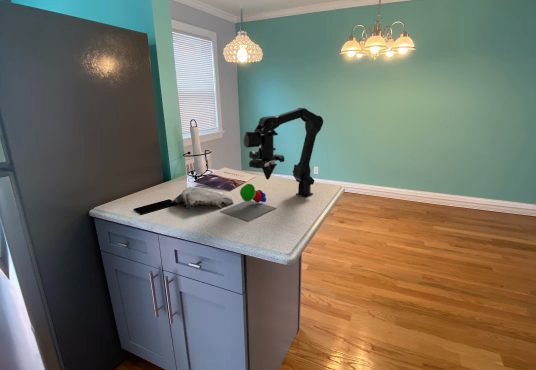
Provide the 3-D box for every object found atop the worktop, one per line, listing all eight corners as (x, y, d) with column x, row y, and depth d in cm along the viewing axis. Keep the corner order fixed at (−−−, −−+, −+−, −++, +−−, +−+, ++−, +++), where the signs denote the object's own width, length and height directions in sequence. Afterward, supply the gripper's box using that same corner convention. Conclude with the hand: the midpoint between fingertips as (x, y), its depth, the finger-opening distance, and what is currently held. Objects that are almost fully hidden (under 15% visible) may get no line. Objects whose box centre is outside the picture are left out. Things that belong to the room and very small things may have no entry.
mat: (248, 200, 145) (248, 199, 144) (276, 208, 134) (276, 207, 134) (220, 211, 131) (220, 211, 131) (248, 221, 121) (248, 220, 121)
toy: (273, 201, 137) (249, 195, 126) (260, 207, 141) (237, 202, 130) (270, 186, 140) (247, 179, 129) (258, 192, 144) (235, 186, 134)
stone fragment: (205, 191, 162) (204, 179, 161) (241, 202, 144) (240, 189, 142) (161, 202, 145) (160, 189, 143) (196, 217, 126) (195, 202, 124)
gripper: (267, 141, 147) (267, 172, 151) (239, 146, 133) (241, 180, 138) (285, 143, 140) (285, 176, 144) (258, 149, 126) (259, 185, 131)
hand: (267, 179), depth 139 cm, fingers closed
